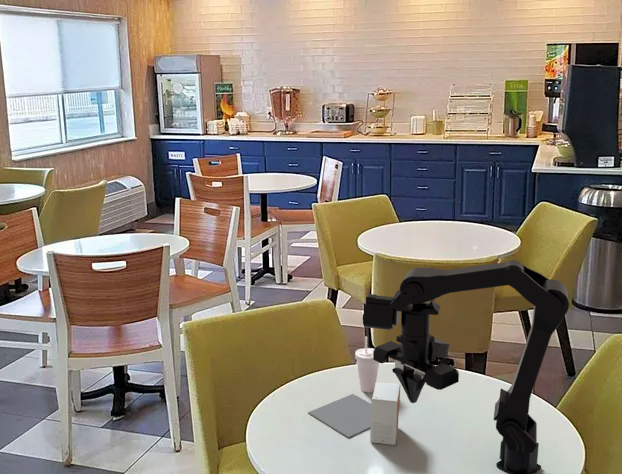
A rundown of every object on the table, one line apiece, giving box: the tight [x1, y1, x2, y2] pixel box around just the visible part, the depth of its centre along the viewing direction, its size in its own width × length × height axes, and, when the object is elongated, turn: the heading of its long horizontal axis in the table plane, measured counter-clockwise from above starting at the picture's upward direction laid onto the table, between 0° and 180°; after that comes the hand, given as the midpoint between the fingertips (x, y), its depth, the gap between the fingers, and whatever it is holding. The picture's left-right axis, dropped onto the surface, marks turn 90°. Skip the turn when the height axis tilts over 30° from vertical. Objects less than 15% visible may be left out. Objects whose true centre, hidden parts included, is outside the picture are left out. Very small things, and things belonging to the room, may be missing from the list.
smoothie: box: [354, 336, 380, 393], centre depth 171 cm, size 6×6×14 cm
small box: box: [369, 381, 401, 446], centre depth 150 cm, size 8×6×10 cm
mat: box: [307, 393, 372, 439], centre depth 160 cm, size 14×14×1 cm
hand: (413, 402), depth 143 cm, fingers closed
